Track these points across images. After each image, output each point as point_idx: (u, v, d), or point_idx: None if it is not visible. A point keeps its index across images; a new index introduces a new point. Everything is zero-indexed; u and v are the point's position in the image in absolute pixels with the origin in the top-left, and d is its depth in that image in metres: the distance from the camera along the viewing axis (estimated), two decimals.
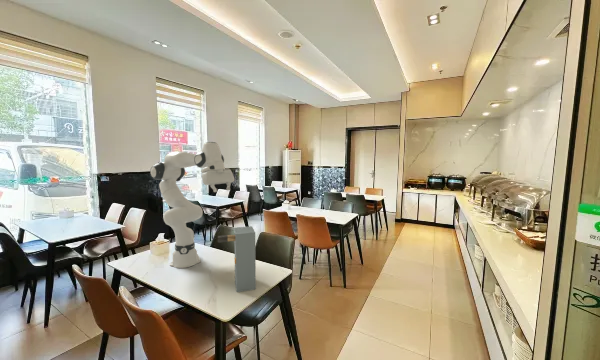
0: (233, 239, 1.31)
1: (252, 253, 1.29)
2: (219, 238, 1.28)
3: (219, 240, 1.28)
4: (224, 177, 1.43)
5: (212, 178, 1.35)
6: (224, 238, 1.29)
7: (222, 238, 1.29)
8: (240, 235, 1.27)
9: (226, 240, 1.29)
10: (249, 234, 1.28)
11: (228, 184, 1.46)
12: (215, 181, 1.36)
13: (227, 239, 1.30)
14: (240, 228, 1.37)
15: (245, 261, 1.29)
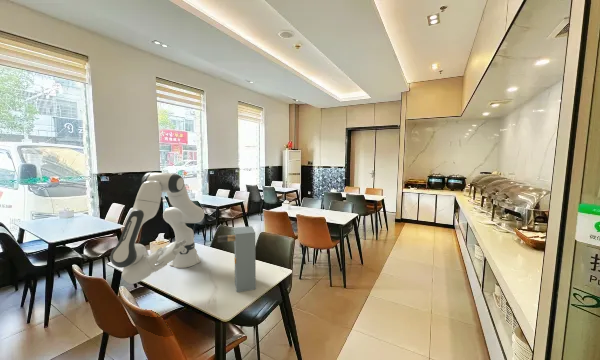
0: (233, 239, 1.31)
1: (252, 253, 1.29)
2: (219, 238, 1.28)
3: (219, 240, 1.28)
4: None
5: None
6: (224, 238, 1.29)
7: (222, 238, 1.29)
8: (240, 235, 1.27)
9: (226, 240, 1.29)
10: (249, 234, 1.28)
11: None
12: None
13: (227, 239, 1.30)
14: (240, 228, 1.37)
15: (245, 261, 1.29)
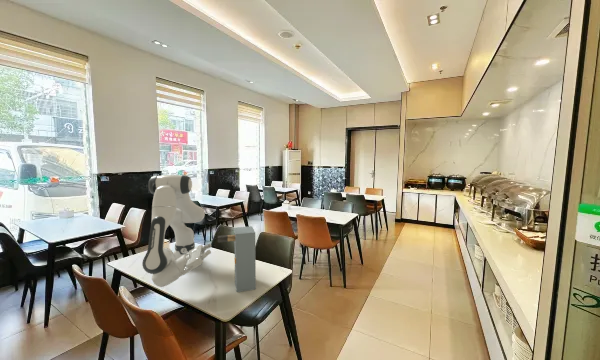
0: (233, 239, 1.31)
1: (252, 253, 1.29)
2: (219, 238, 1.28)
3: (219, 240, 1.28)
4: None
5: None
6: (224, 238, 1.29)
7: (222, 238, 1.29)
8: (240, 235, 1.27)
9: (226, 240, 1.29)
10: (249, 234, 1.28)
11: None
12: None
13: (227, 239, 1.30)
14: (240, 228, 1.37)
15: (245, 261, 1.29)
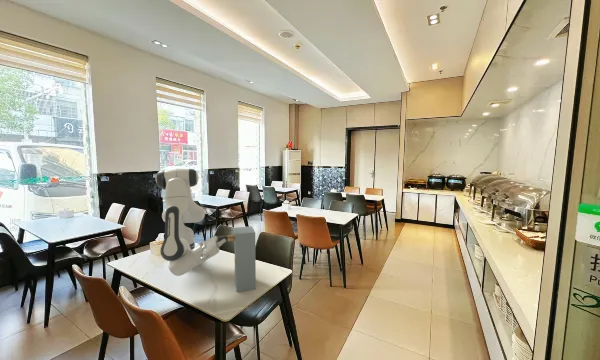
0: (233, 239, 1.31)
1: (252, 253, 1.29)
2: (219, 238, 1.28)
3: (219, 240, 1.28)
4: None
5: None
6: None
7: (222, 238, 1.29)
8: (240, 235, 1.27)
9: (226, 240, 1.29)
10: (249, 234, 1.28)
11: None
12: None
13: (227, 239, 1.30)
14: (240, 228, 1.37)
15: (245, 261, 1.29)
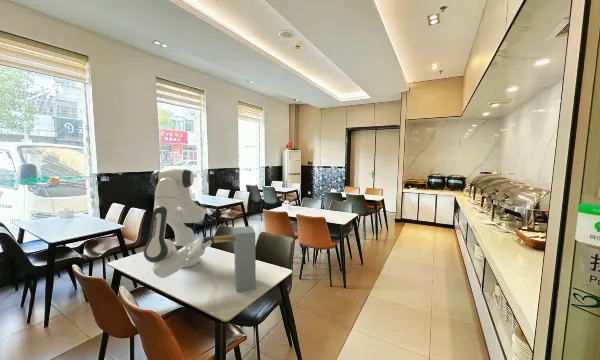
0: (219, 240, 1.28)
1: (252, 253, 1.29)
2: (205, 239, 1.26)
3: (205, 241, 1.26)
4: None
5: None
6: None
7: (208, 239, 1.26)
8: (240, 235, 1.27)
9: (212, 241, 1.27)
10: (249, 234, 1.28)
11: None
12: None
13: (213, 240, 1.27)
14: (240, 228, 1.37)
15: (245, 261, 1.29)
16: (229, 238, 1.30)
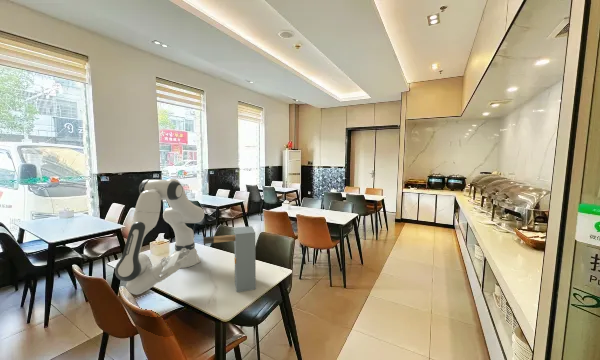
0: (219, 240, 1.28)
1: (252, 253, 1.29)
2: (205, 239, 1.26)
3: (205, 241, 1.26)
4: None
5: None
6: (210, 239, 1.27)
7: (208, 239, 1.26)
8: (240, 235, 1.27)
9: (212, 241, 1.27)
10: (249, 234, 1.28)
11: None
12: None
13: (213, 240, 1.27)
14: (240, 228, 1.37)
15: (245, 261, 1.29)
16: (229, 238, 1.30)
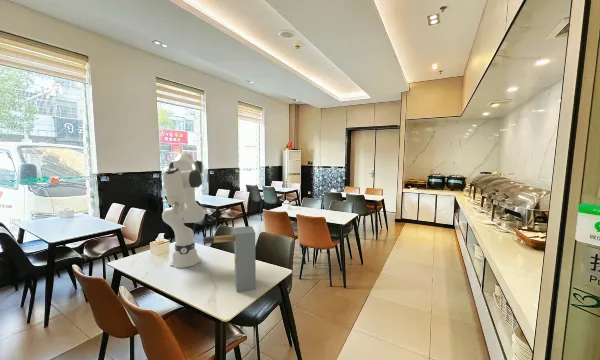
0: (219, 240, 1.28)
1: (252, 253, 1.29)
2: (205, 239, 1.26)
3: (205, 241, 1.26)
4: None
5: None
6: (210, 239, 1.27)
7: (208, 239, 1.26)
8: (240, 235, 1.27)
9: (212, 241, 1.27)
10: (249, 234, 1.28)
11: (179, 221, 1.24)
12: None
13: (213, 240, 1.27)
14: (240, 228, 1.37)
15: (245, 261, 1.29)
16: (229, 238, 1.30)
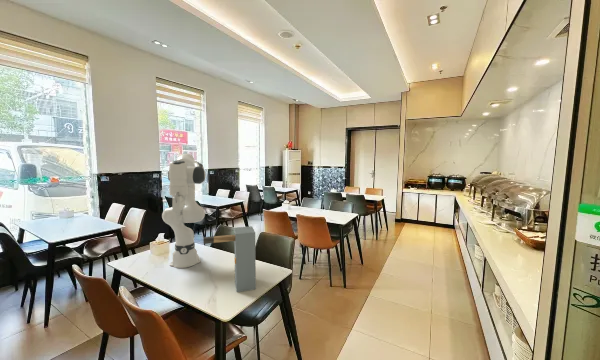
0: (219, 240, 1.28)
1: (252, 253, 1.29)
2: (205, 239, 1.26)
3: (205, 241, 1.26)
4: None
5: None
6: (210, 239, 1.27)
7: (208, 239, 1.26)
8: (240, 235, 1.27)
9: (212, 241, 1.27)
10: (249, 234, 1.28)
11: None
12: None
13: (213, 240, 1.27)
14: (240, 228, 1.37)
15: (245, 261, 1.29)
16: (229, 238, 1.30)
